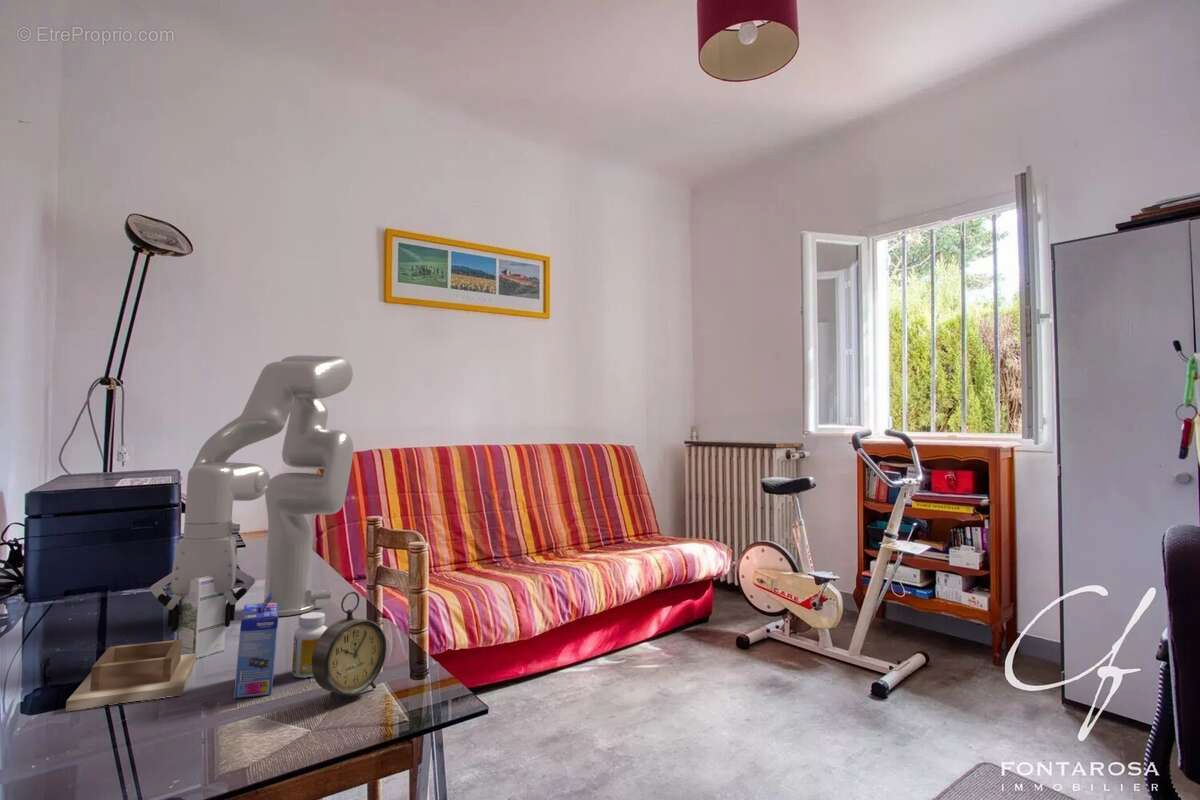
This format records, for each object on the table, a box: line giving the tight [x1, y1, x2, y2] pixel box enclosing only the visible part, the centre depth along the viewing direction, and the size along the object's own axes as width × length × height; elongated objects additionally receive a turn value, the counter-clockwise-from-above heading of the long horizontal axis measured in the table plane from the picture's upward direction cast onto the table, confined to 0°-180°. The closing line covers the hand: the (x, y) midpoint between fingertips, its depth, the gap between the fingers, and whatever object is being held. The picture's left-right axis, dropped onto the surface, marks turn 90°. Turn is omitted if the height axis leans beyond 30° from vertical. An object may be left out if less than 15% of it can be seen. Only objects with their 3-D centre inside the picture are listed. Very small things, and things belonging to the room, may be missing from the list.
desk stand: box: [65, 639, 197, 712], centre depth 100 cm, size 14×16×5 cm
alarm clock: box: [312, 591, 387, 709], centre depth 97 cm, size 11×5×16 cm, turn 148°
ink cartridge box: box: [233, 592, 279, 699], centre depth 100 cm, size 10×6×14 cm, turn 28°
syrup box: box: [176, 576, 228, 659], centre depth 115 cm, size 6×6×14 cm
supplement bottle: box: [291, 611, 328, 679], centre depth 106 cm, size 5×5×10 cm
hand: (201, 626), depth 115 cm, fingers closed on syrup box, 7 cm apart
